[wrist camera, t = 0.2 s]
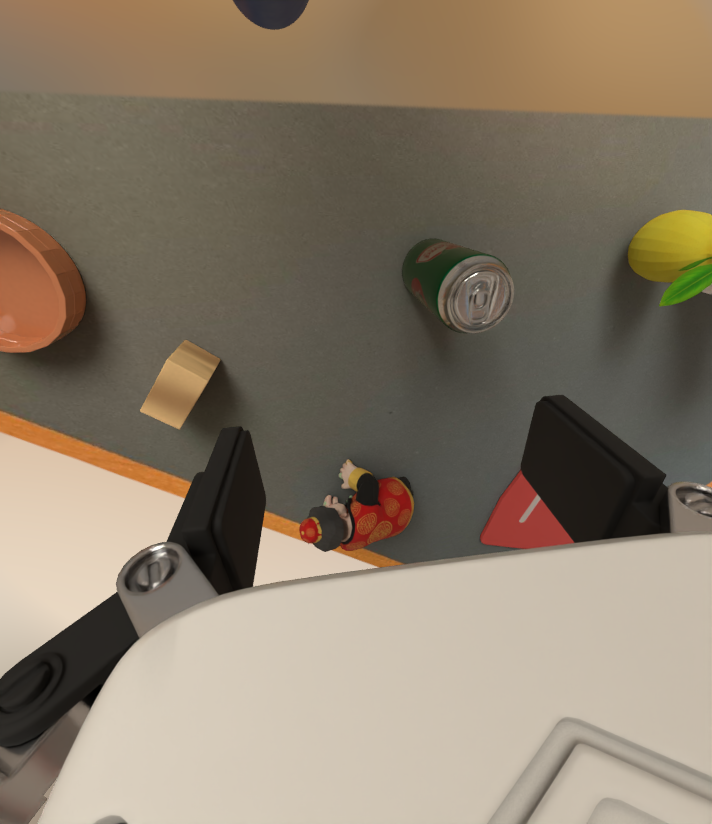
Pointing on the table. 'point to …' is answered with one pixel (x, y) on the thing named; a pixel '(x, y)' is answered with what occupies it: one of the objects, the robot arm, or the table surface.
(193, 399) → the wooden block
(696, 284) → the lemon
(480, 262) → the soda can
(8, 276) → the terracotta bowl
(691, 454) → the table surface
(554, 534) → the desk lamp
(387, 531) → the figurine
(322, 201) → the table surface
